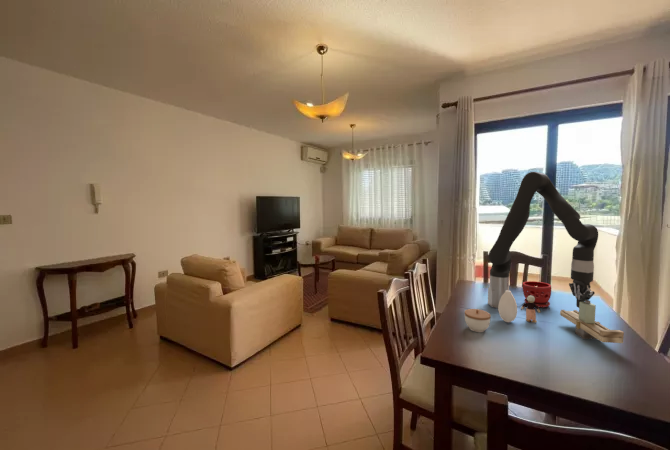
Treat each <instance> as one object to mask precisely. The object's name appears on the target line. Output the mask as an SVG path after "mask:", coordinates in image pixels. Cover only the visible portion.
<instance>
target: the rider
mask: <svg viewBox="0 0 670 450" xmlns="http://www.w3.org/2000/svg"><path fill="white" fill-rule="evenodd" d="M596 307H597V306H596V304H594V303H592V302H591V300H590V299H589V300H585V302H579V308H578V312H579V319H580V320H581V321H583V322H585V323H592V324H595V320H596Z"/></svg>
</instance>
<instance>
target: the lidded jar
mask: <svg viewBox="0 0 670 450" xmlns="http://www.w3.org/2000/svg"><path fill="white" fill-rule="evenodd" d="M491 318H492V317H491V313H489V312H488V311H486V310H483V309H479V308H468V309H465V310H464V322H465V323H466V325H467V327H468V328H469V330H471V331H473V332H476V333H484V332H485V331H487V329H489V326H490V323H491Z"/></svg>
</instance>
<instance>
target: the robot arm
mask: <svg viewBox="0 0 670 450" xmlns="http://www.w3.org/2000/svg"><path fill="white" fill-rule="evenodd" d="M536 193H538V194H539V195H540V196H541V197H543V199H545V201H546V202H547V204H548V206H549V207H550V209H551V211H552V213H553V214H554V215H555V216H556V218H558V220H559V221H560V222H561V223H562V224H563V226H564V228H565V230H566V232H567V234H568V235H569V237H571V238H572V239H573V240H575V241H577V244H576V245H575V246H574V247H573V248H572V258H571V264H570V266H571V267H570V279H571V280H572V282H571V283H568V285H569V289H570V290H571V293H572V295H573V297H575V300H576V303H575V305H576V307H577V308H578V309H579V302H585V300H589V301H590V299H591V298H593V296H594V295H595V291H593V290H591V283H592V282H593V281H594V274H595V273H594V271H595V264H594V257H595V256H594V255H595V248H596V246H597V243H598V240H599V231H598V228H597V227H596V226H595V225H593V224H586V223H585V224H583V222H582V221H581V220H580V219H581V215H580V213H579V212H578V211H577V210H576V209H575V208H574V207H573V206H572V204H570V203H569V202H568V201H567V200H566V199H565V198H564V197H563V196H562V195H561V193H560V192H559V191H558V189H557V188H556V187H555V185H554V183H553V182H552V180H551V179H550V178H549V176H548V175H547V174H545V173H542V172H538V171H530V172H527V173H526V174H525V175H524V177H523V178H522V179H521V182H520V184H519V188H518V191H517V194H516V197H515V199H514V201H513V203H512V205H511V208H510V210H509V212H508V214H507V216H506V218H505V220H504V222H503V224H502V226H501V229H500V232H499V234H498V237H497V239H496V240H495V242H494V244H493V245H492V248H490V250H489V253H488V260H489V262H491V264H492V265H491V268H489V286H488V288H487V304H488V305H489V306H490V307H491V308H495V309H498V306H499V301H500V299H501V297H502V295H503V294H504V293H505V291H506V290H508V286H509V287H510V272H511V268H512V254H511V253H512V252H511V251H510V250H511V247H512V245H513V244H514V242H515V240H517V238H518V237H519V236H520V234H521V233H522V232H523V230H524V228H525V227H526V224H527V223H528V221H529V218H530V211H531V208H530V207H531V203H532V199H533V198H534V196H535V194H536Z"/></svg>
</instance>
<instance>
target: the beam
mask: <svg viewBox="0 0 670 450" xmlns="http://www.w3.org/2000/svg"><path fill="white" fill-rule="evenodd" d="M559 315H560V316H561V317H563V318H564V319H566V320H567V321H569V322H570V323H572V324H573V325H574V326H575V330H574V331H575V334H576V335H577V336H578V337H580V338H581V339H583V340H598V341H600V342H601V343H614V344H624V338H625V336H624V334H625V332H624V331H622V330H620V329H609V327H606V326H605V325H603V324H601V322H599V321H595V324H592V323H585V322H583V321H581V320H580V319H579V310H577V309H573V311H572V310H565V309H560V313H559Z"/></svg>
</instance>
